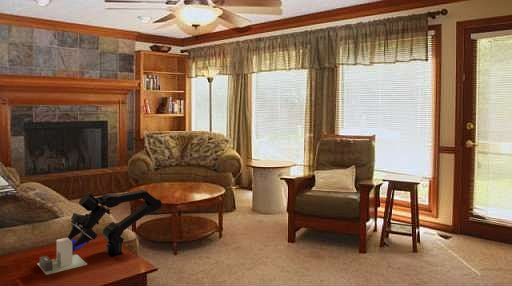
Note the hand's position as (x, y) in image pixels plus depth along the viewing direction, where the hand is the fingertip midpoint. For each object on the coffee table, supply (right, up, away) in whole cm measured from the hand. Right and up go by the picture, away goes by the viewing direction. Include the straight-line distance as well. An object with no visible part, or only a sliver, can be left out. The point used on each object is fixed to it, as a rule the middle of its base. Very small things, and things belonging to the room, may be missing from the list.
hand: (70, 243), depth 199 cm
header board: (-3, -10, -1) cm, 11 cm away
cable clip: (-5, -7, +21) cm, 22 cm away
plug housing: (-3, -9, -1) cm, 9 cm away
